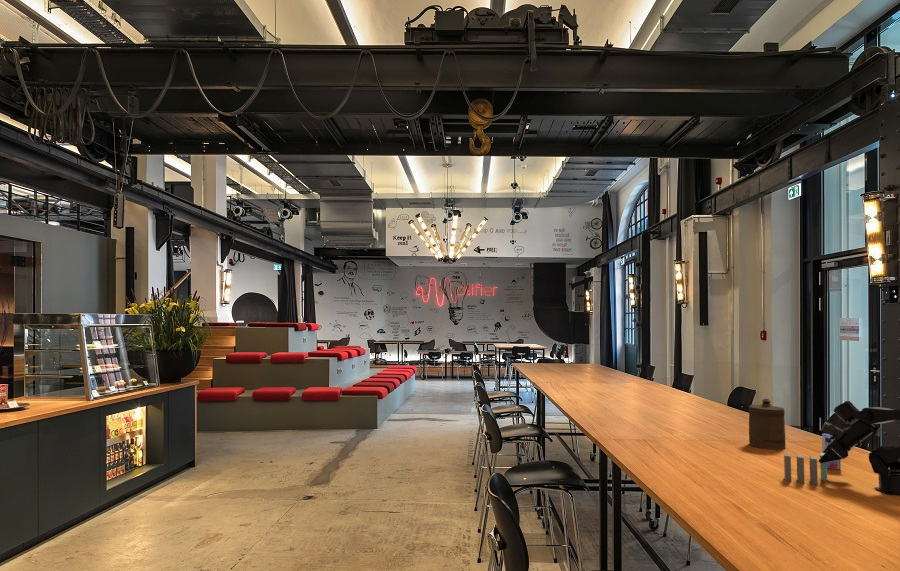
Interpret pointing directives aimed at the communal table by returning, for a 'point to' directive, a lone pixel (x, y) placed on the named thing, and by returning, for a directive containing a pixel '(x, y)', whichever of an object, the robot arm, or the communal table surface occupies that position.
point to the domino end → (787, 466)
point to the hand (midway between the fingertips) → (820, 459)
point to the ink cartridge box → (825, 441)
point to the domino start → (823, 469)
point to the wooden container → (767, 426)
